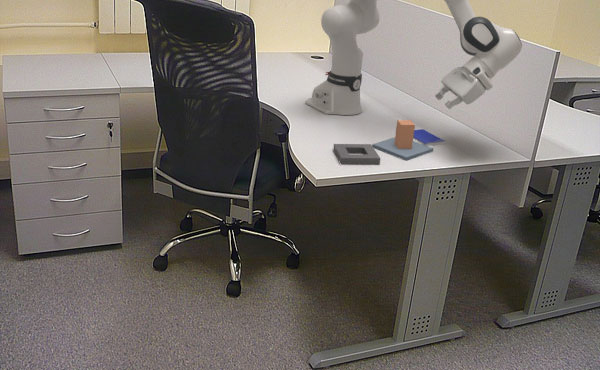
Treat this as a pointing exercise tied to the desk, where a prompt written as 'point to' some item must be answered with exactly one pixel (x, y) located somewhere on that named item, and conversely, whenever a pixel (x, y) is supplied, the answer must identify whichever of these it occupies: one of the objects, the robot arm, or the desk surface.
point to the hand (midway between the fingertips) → (441, 102)
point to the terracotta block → (404, 134)
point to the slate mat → (404, 154)
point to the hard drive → (427, 138)
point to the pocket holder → (346, 158)
